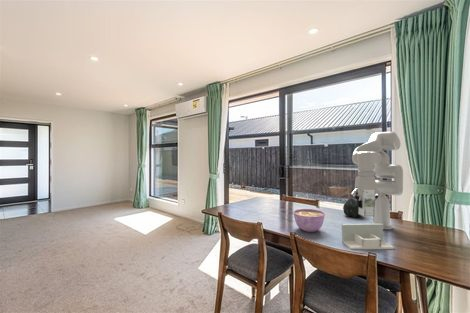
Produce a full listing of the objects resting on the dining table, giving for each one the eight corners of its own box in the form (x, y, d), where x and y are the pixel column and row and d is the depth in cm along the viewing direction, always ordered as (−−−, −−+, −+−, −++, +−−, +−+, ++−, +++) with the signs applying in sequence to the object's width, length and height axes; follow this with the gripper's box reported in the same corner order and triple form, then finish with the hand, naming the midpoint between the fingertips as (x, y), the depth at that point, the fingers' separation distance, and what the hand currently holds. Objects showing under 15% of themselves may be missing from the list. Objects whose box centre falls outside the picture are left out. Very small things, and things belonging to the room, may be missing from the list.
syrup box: (368, 213, 124) (367, 187, 124) (375, 216, 119) (374, 189, 118) (358, 213, 124) (357, 188, 124) (364, 216, 118) (364, 189, 118)
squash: (367, 208, 178) (353, 193, 183) (367, 213, 165) (352, 197, 170) (353, 218, 184) (339, 203, 189) (352, 224, 171) (337, 208, 176)
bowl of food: (297, 223, 161) (296, 207, 161) (326, 227, 152) (326, 210, 152) (290, 232, 143) (289, 214, 143) (323, 237, 134) (323, 218, 134)
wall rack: (342, 241, 128) (341, 224, 127) (381, 241, 127) (381, 223, 127) (351, 249, 117) (350, 230, 117) (394, 249, 116) (393, 230, 116)
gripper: (377, 173, 125) (378, 205, 125) (346, 174, 125) (346, 206, 126) (386, 174, 117) (386, 209, 117) (352, 175, 118) (353, 209, 118)
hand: (366, 207), depth 121 cm, fingers closed on syrup box, 5 cm apart
